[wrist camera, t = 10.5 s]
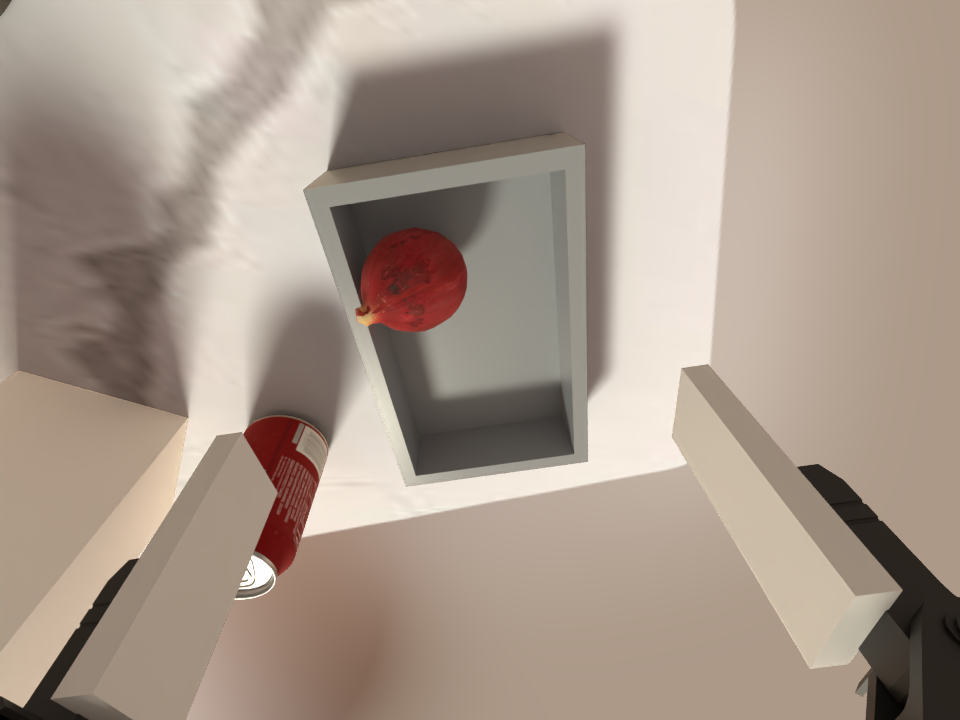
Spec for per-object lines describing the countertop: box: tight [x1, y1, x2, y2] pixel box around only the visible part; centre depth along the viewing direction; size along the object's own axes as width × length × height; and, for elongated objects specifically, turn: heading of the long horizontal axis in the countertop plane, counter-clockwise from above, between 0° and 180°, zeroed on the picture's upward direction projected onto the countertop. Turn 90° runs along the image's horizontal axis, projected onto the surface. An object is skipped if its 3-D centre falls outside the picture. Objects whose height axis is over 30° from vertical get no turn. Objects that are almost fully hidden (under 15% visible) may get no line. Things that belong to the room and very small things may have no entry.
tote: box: [303, 132, 588, 487], centre depth 30 cm, size 22×14×5 cm, turn 8°
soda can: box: [235, 415, 328, 599], centre depth 32 cm, size 7×7×12 cm
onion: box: [355, 227, 467, 332], centre depth 25 cm, size 6×6×8 cm
